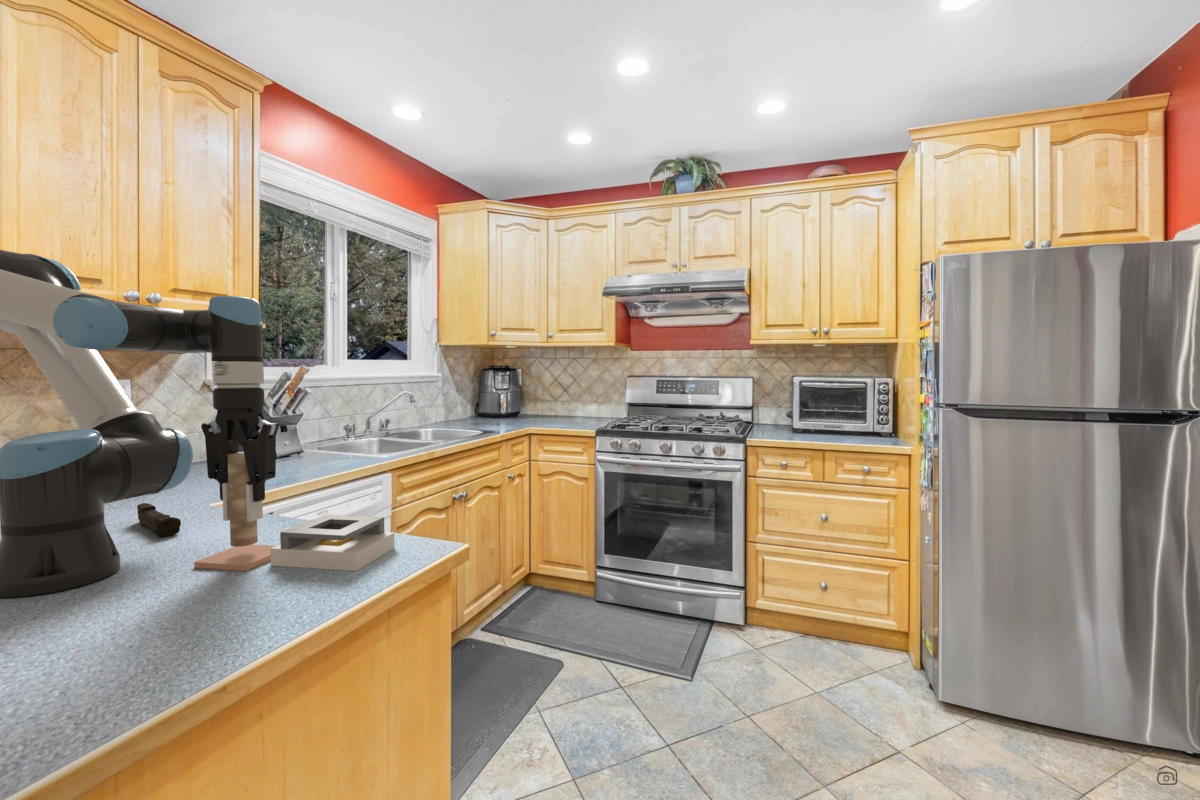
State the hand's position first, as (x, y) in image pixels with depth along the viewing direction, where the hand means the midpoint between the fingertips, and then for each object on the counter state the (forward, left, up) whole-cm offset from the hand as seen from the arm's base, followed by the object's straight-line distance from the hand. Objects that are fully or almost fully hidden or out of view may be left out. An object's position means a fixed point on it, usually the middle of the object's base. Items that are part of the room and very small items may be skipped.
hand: (243, 518), depth 96 cm
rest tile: (0, 0, -7) cm, 7 cm away
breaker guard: (+15, +4, -7) cm, 17 cm away
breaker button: (+15, +4, -7) cm, 17 cm away
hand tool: (-35, +14, -8) cm, 38 cm away
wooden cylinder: (0, 0, -4) cm, 4 cm away
